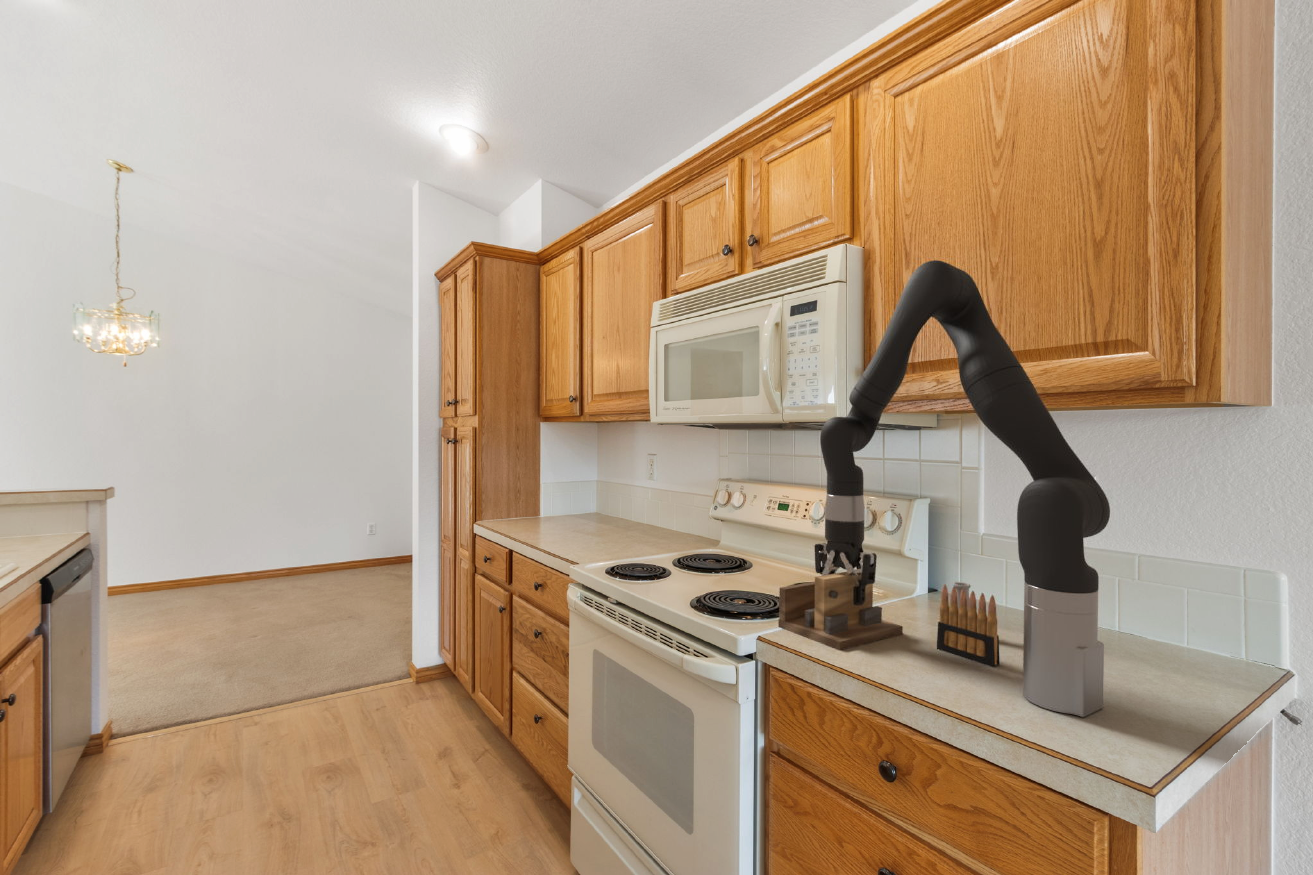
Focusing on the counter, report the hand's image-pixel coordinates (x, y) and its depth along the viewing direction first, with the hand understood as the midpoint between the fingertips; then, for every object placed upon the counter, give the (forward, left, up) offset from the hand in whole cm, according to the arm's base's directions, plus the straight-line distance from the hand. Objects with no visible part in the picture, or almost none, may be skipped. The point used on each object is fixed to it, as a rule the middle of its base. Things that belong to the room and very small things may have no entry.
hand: (843, 600), depth 125 cm
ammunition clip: (-21, -8, -7) cm, 23 cm away
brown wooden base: (+1, 0, -6) cm, 6 cm away
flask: (-13, -19, -7) cm, 24 cm away
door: (0, 0, -5) cm, 5 cm away
